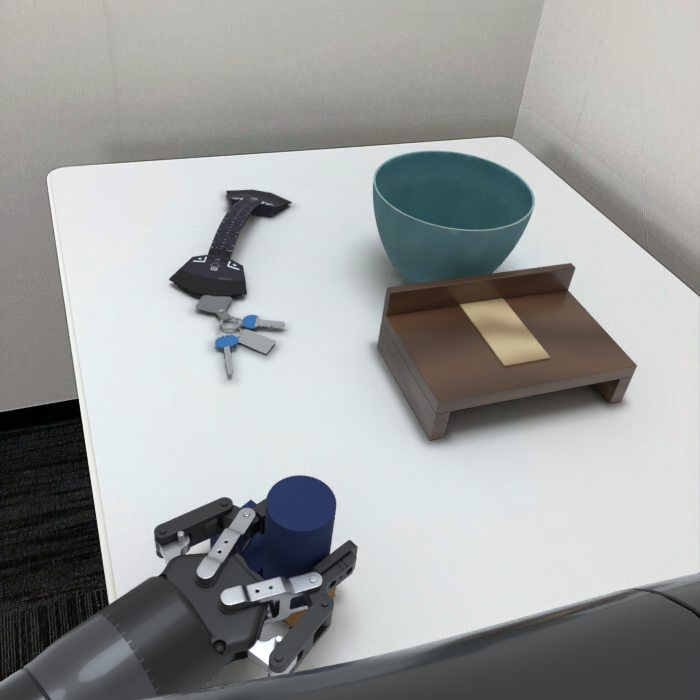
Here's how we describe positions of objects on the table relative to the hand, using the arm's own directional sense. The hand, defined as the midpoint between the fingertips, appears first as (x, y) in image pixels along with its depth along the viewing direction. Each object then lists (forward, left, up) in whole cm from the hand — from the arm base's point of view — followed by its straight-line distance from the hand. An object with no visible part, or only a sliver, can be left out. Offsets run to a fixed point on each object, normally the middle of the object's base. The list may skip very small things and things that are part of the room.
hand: (323, 523), depth 57 cm
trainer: (+1, +3, -7) cm, 7 cm away
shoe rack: (+18, -26, -7) cm, 32 cm away
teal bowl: (+36, -27, -7) cm, 45 cm away
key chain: (+31, -2, -7) cm, 32 cm away
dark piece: (+48, -5, -7) cm, 49 cm away
